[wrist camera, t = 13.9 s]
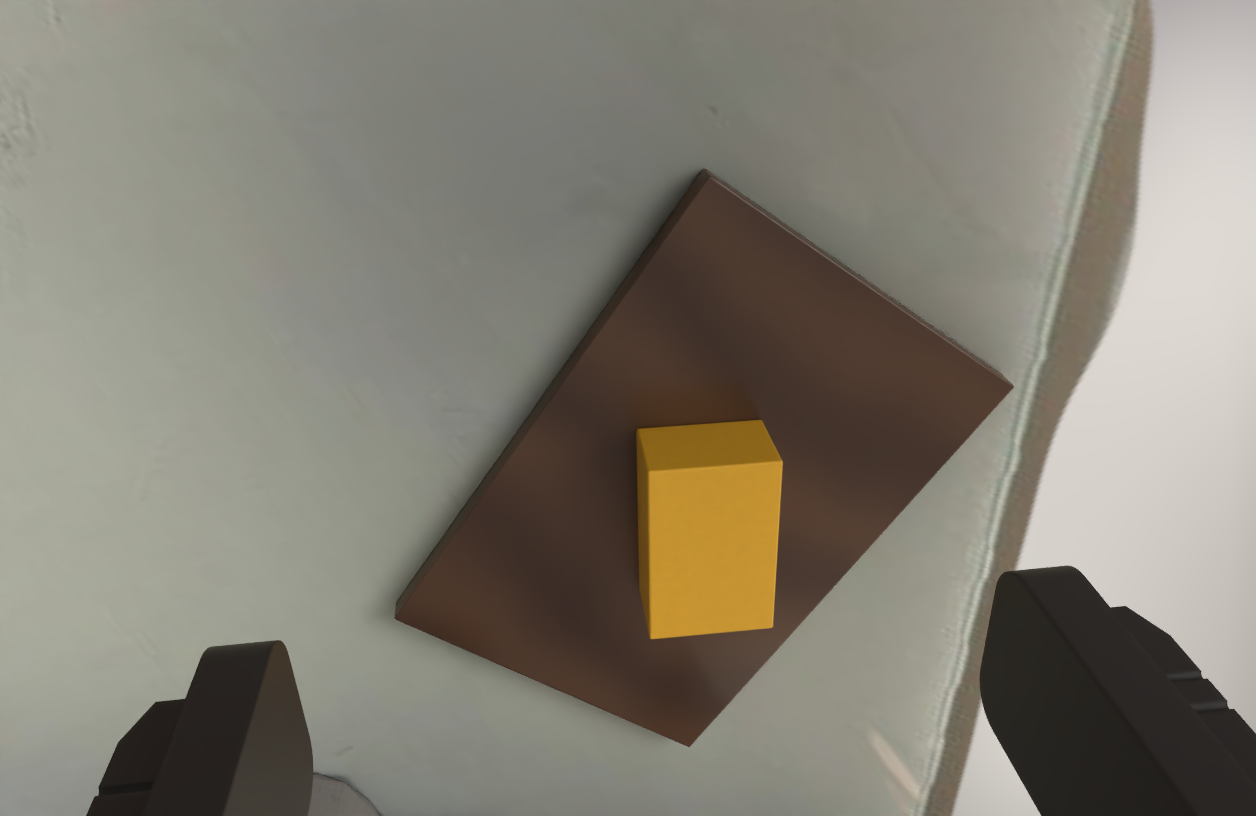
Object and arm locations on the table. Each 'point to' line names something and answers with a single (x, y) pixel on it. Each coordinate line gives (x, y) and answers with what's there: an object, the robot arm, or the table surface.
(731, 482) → the block
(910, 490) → the desk pad
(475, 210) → the table surface
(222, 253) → the table surface
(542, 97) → the table surface
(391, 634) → the table surface
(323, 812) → the coffeepot
